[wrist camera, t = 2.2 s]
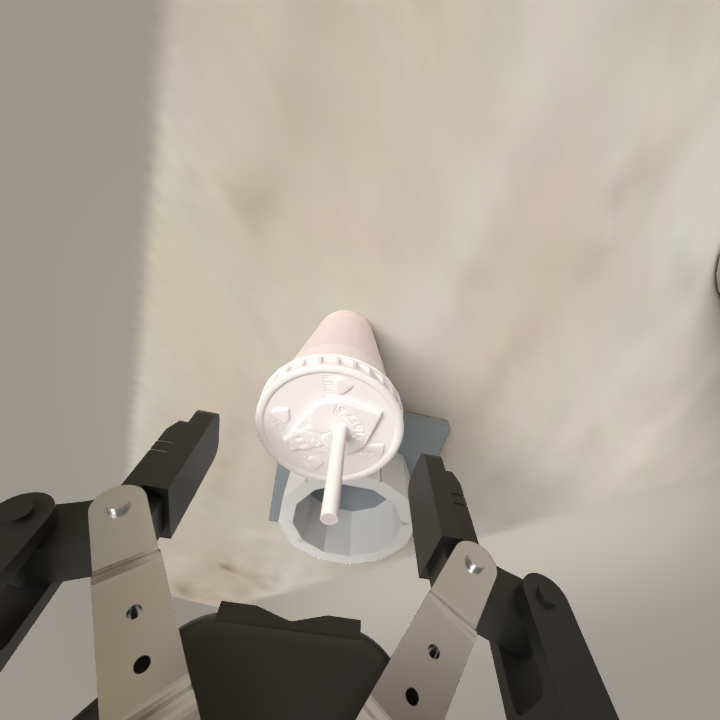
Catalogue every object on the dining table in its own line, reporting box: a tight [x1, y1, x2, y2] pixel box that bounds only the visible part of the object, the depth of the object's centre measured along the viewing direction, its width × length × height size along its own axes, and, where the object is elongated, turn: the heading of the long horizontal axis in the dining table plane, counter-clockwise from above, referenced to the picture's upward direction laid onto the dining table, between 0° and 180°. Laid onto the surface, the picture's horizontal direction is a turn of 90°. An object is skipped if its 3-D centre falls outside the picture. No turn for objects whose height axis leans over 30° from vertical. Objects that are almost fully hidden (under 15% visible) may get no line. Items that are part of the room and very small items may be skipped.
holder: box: [269, 411, 450, 564], centre depth 26 cm, size 12×14×5 cm
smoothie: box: [255, 310, 404, 525], centre depth 17 cm, size 6×6×14 cm
